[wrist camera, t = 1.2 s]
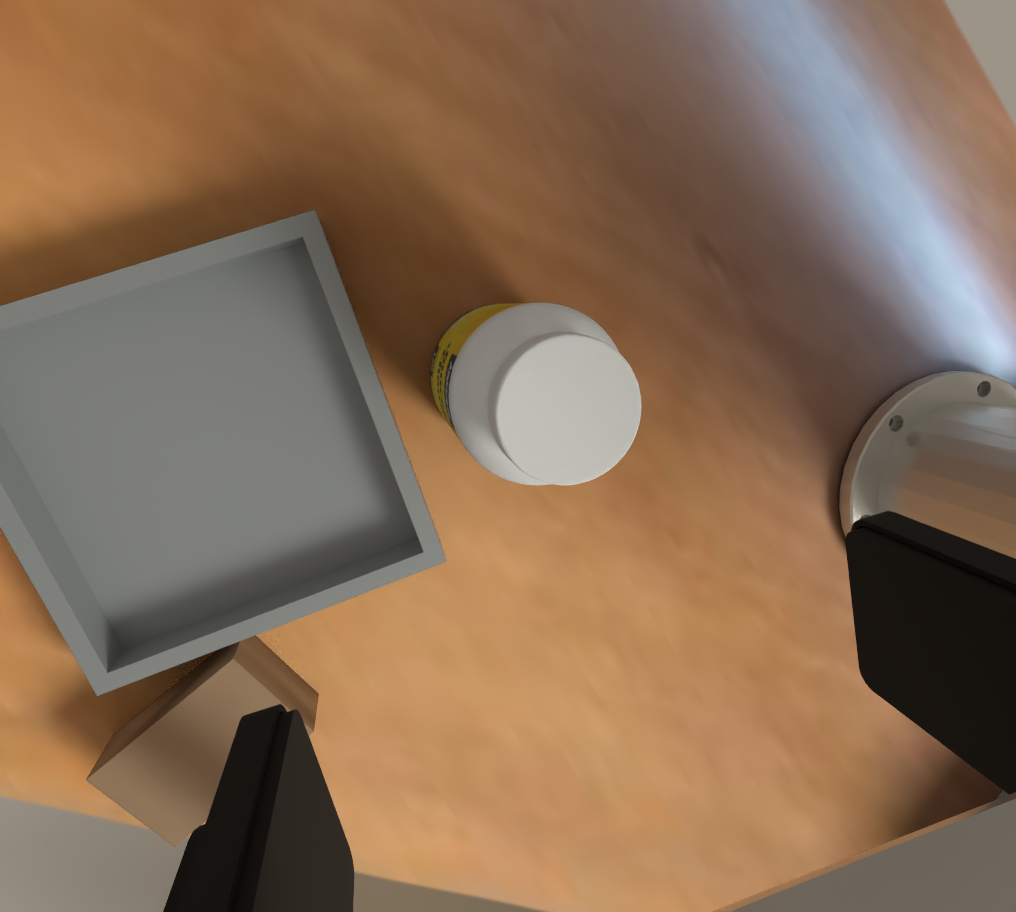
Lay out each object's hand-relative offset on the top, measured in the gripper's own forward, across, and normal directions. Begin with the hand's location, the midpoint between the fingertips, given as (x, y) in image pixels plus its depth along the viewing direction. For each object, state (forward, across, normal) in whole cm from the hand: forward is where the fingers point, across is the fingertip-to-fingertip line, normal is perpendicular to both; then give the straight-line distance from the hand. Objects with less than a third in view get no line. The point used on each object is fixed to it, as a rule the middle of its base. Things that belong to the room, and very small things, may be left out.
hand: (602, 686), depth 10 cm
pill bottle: (+22, -3, -2) cm, 22 cm away
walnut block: (+21, +14, +10) cm, 28 cm away
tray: (+21, +10, -2) cm, 24 cm away
